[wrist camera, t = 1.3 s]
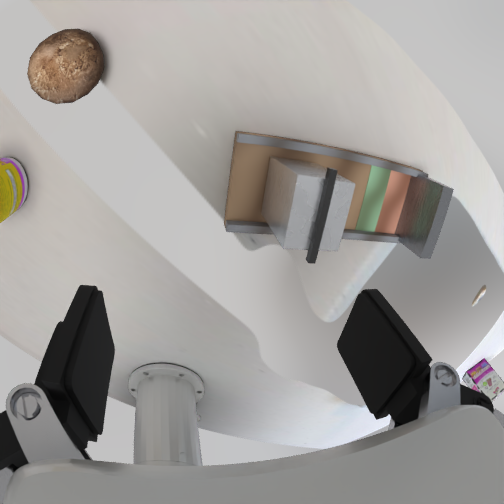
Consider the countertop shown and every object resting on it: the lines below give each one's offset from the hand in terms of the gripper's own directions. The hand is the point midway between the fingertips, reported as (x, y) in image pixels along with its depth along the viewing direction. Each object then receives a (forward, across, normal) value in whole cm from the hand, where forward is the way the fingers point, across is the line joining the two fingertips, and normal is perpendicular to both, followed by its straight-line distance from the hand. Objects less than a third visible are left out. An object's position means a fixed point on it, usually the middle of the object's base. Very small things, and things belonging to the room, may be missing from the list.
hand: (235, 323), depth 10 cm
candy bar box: (+21, -95, +53) cm, 111 cm away
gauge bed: (+22, -14, 0) cm, 26 cm away
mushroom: (+22, +15, -11) cm, 29 cm away
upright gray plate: (+20, -25, +1) cm, 32 cm away
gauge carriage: (+20, -8, 0) cm, 22 cm away
